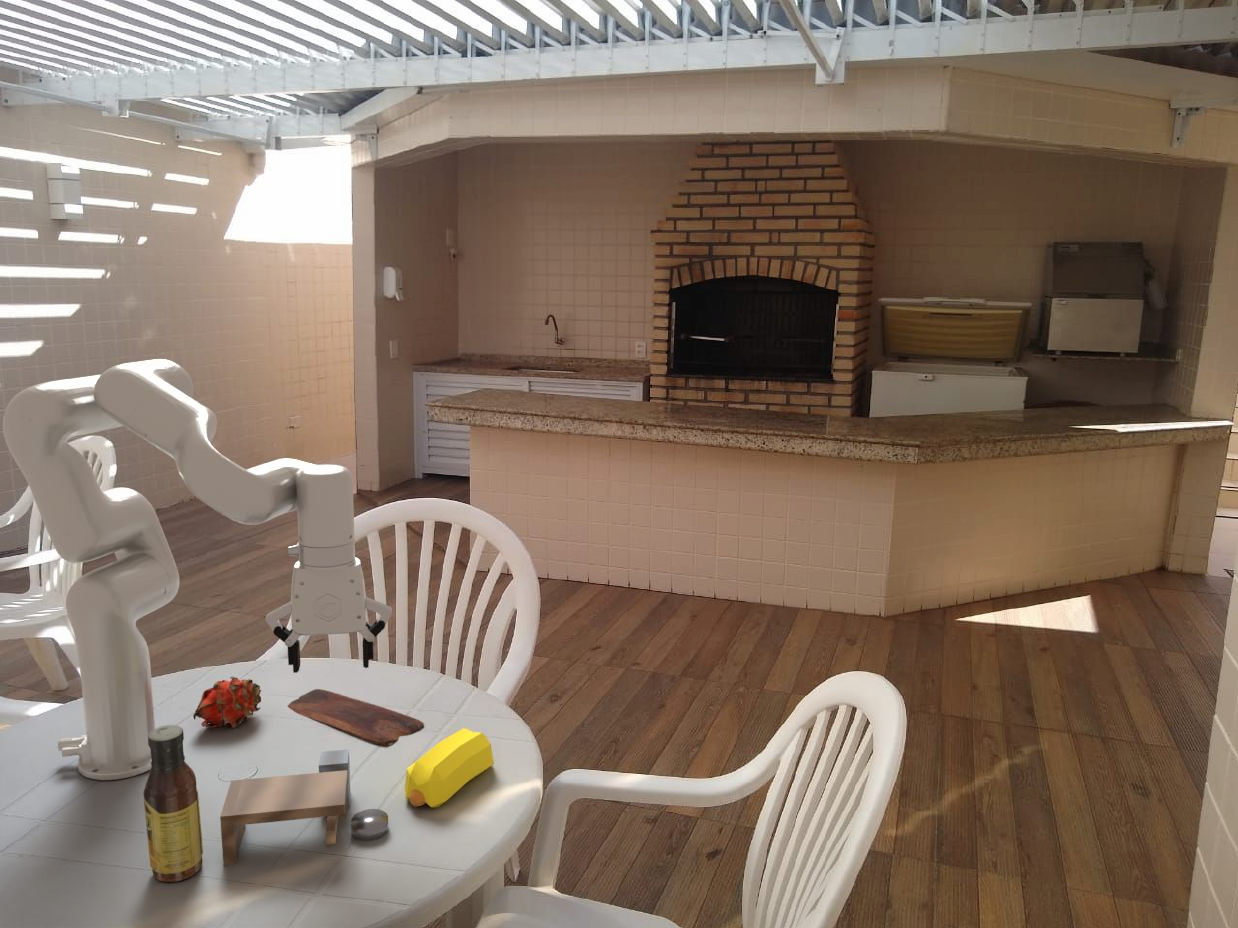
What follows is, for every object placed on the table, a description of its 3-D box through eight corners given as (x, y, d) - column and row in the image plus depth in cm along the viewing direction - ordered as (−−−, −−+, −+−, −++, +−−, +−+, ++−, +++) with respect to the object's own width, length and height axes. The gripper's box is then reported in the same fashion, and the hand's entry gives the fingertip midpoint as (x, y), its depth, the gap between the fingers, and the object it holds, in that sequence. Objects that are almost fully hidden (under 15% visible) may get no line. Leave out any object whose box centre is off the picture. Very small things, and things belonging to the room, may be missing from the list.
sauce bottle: (162, 856, 128) (150, 717, 124) (210, 855, 129) (201, 717, 124) (142, 887, 122) (129, 742, 118) (193, 886, 122) (182, 741, 118)
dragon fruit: (269, 720, 169) (202, 753, 161) (246, 683, 172) (179, 713, 164) (276, 695, 164) (207, 728, 156) (251, 657, 167) (182, 687, 159)
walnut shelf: (223, 864, 127) (220, 816, 125) (234, 826, 135) (231, 780, 134) (346, 851, 130) (344, 804, 129) (349, 814, 139) (347, 770, 137)
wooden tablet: (277, 701, 171) (322, 675, 179) (279, 712, 172) (323, 686, 180) (384, 744, 157) (427, 715, 165) (385, 756, 158) (428, 726, 166)
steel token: (349, 843, 132) (349, 830, 132) (353, 822, 137) (352, 810, 137) (387, 840, 133) (386, 827, 133) (389, 820, 138) (389, 807, 137)
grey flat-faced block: (315, 845, 131) (313, 799, 130) (322, 794, 143) (320, 751, 142) (346, 842, 132) (344, 796, 131) (350, 792, 144) (348, 749, 143)
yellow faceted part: (504, 763, 154) (464, 752, 157) (504, 725, 153) (464, 714, 156) (434, 820, 138) (391, 805, 142) (433, 777, 137) (390, 763, 140)
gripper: (258, 563, 131) (265, 681, 134) (390, 558, 135) (393, 672, 138) (265, 547, 138) (271, 660, 141) (390, 542, 142) (393, 652, 145)
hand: (331, 666), depth 140 cm, fingers open, 9 cm apart
